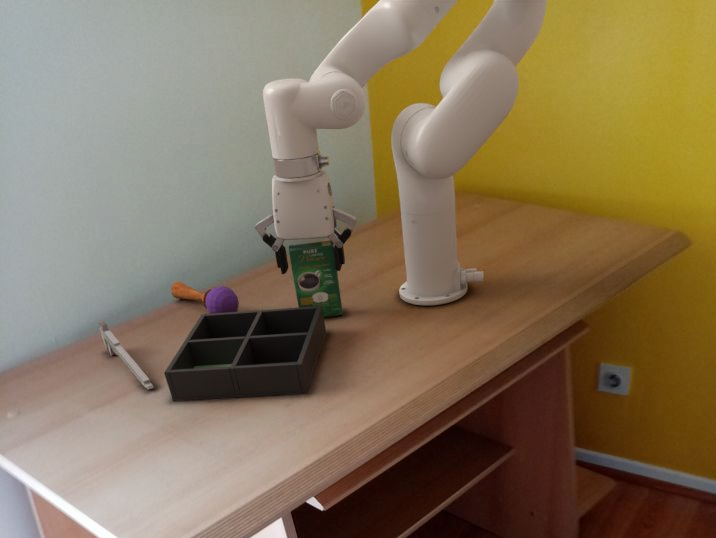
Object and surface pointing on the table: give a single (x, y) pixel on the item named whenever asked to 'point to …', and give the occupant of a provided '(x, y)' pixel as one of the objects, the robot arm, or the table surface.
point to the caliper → (122, 354)
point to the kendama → (209, 297)
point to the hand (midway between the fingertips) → (312, 269)
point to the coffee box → (316, 276)
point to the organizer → (248, 354)
